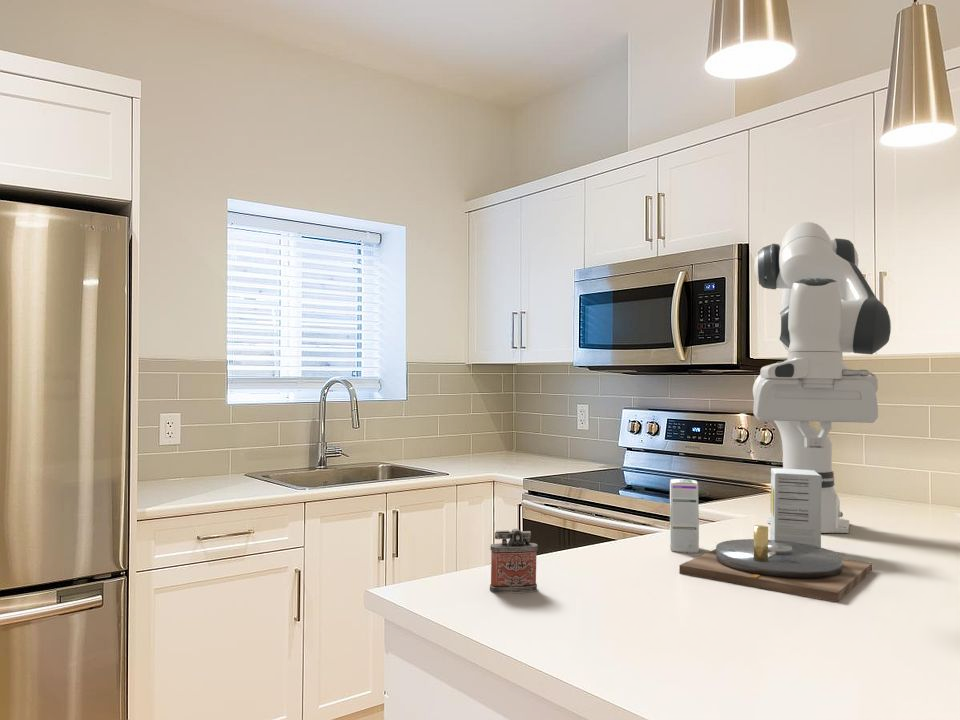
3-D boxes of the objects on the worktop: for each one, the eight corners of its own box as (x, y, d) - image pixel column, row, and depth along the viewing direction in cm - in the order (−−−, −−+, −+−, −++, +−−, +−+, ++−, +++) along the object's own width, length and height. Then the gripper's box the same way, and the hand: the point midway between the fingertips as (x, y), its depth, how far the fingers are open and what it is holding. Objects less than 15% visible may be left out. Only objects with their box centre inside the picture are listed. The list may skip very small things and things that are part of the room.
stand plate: (731, 549, 160) (731, 541, 160) (872, 570, 143) (872, 561, 143) (679, 573, 139) (679, 563, 139) (837, 602, 122) (837, 591, 122)
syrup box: (699, 553, 155) (700, 483, 156) (669, 551, 156) (670, 481, 157) (697, 547, 161) (697, 479, 161) (668, 545, 162) (669, 478, 162)
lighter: (533, 586, 128) (534, 527, 128) (539, 591, 125) (540, 531, 125) (487, 588, 126) (488, 528, 127) (492, 593, 123) (493, 532, 123)
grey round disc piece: (739, 544, 156) (740, 505, 157) (855, 561, 143) (855, 519, 143) (697, 563, 139) (698, 519, 139) (824, 585, 125) (824, 536, 126)
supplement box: (769, 543, 166) (770, 467, 166) (814, 547, 163) (815, 469, 164) (773, 553, 157) (774, 472, 157) (821, 557, 154) (822, 474, 155)
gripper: (870, 370, 134) (870, 447, 134) (751, 368, 137) (750, 444, 137) (884, 369, 128) (884, 451, 128) (759, 368, 131) (758, 447, 130)
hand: (814, 447), depth 132 cm, fingers closed
